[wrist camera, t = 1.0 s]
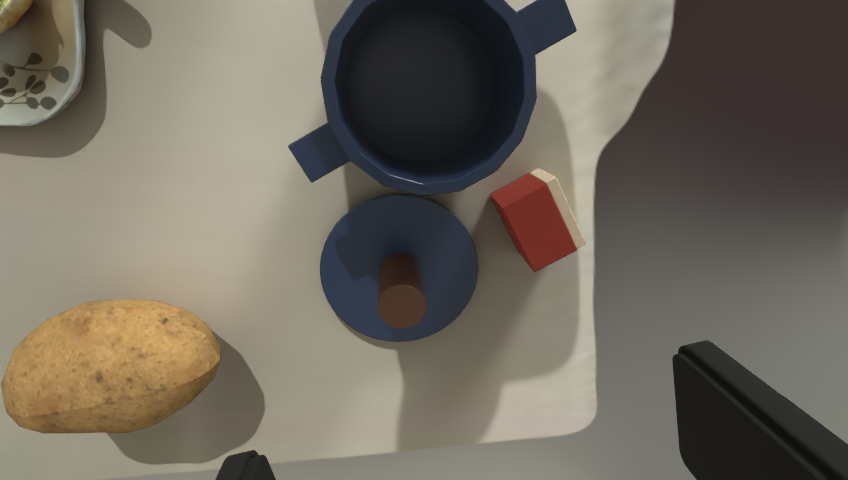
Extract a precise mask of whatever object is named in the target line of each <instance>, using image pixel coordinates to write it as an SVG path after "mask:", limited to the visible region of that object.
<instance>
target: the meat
mask: <svg viewBox="0 0 848 480" xmlns="http://www.w3.org/2000/svg"><path fill="white" fill-rule="evenodd" d="M490 197H491V199H492V201H493V203H494V205H495V206H496V208H497V210H498V212H499V214H500V216H501V218H502V220H503V222H504V224H505V226H506V228H507V230H508V232H509V234H510V236H511V238H512V240H513V242H514V244H515V246H516V247H517V249H518V251H519V253H520V254H521V256H522V257H523V258H524V259H525V261H526V262H527V263H528V264H529V266H530V267H531V268H532V270H533V271H534V272H536V271H538V270H540V269H542V268H544V267H546V266H548V265H550V264H551V263H553V262H555V261H557V260H559V259H561V258H563V257H565V256H567V255H569V254H571V253H572V252H574V251H576V250H577V248H579V247H581V246H583V245H585V244H586V242H585V240H584V237H583V235H582V233H581V231H580V229H579V226H578V224H577V222H576V220H575V218H574V215H573V213H572V211H571V209H570V207H569V204H568V202H567V200H566V198H565V196H564V193H563V191H562V189H561V187H560V185H559V182H558V180H557V178H556V177H554V176H552V175H550V174H548V173H547V172H545V171H543V170H541V169H539V168H537V169H536V170H534V171H532V172H530V174H529V173H528V174H526V175H525V176H523V177H521V178H519V179H517V180H515V181H514V182H512V183H510V184H508V185H506V186H505V187H503V188H501V189H499V190H497V191H495V192H494V193H492V194H490Z"/></svg>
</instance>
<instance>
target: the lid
mask: <svg viewBox="0 0 848 480" xmlns="http://www.w3.org/2000/svg"><path fill="white" fill-rule="evenodd" d="M477 273H478V262H477V255H476V250H475V247H474V244H473V241H472V239H471V237H470V235H469V233H468V232H467V230H466V228H465V227H464V225H463V224H462V223H461V222H460V221H459V219H458V218H457V217H456V216H455V215H454V214H452V213H451V212H450V211H449V210H447V209H446V208H444V207H443V206H442V205H440V204H438V203H436V202H434V201H432V200H429V199H426V198H423V197H419V196H414V195H406V194H394V195H385V196H380V197H377V198H373V199H370V200H368V201H366V202H364V203H361V204H359V205H358V206H356V207H355V208H353V209H352V210H350V211H349V212H348V213H347V214H345V215H344V216H343V217H342V218H341V219H340V220H339V222H338V223H337V224H336V225H335V226H334V228H333V229H332V231H331V232H330V234H329V236H328V238H327V240H326V242H325V245H324V248H323V252H322V256H321V262H320V275H321V283H322V287H323V290H324V293H325V295H326V298H327V300H328V302H329V304H330V305H331V307H332V308H333V310H334V311H335V312H336V314H337V315H338V316H339V317H340V318H341V319H342V320H343V321H344V322H345V323H346V324H348V325H349V326H351V327H352V328H353V329H355V330H357V331H358V332H360V333H362V334H365V335H367V336H369V337H372V338H376V339H379V340H385V341H397V342H401V341H411V340H416V339H420V338H424V337H427V336H429V335H432V334H434V333H436V332H438V331H440V330H441V329H443V328H445V327H446V326H447V325H449V324H450V323H451V322H452V321H454V320H455V319H456V318H457V317H458V316H459V315H460V313H461V312H462V311H463V309H464V308H465V307H466V305H467V303H468V302H469V300H470V298H471V296H472V293H473V291H474V288H475V284H476V280H477Z"/></svg>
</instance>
